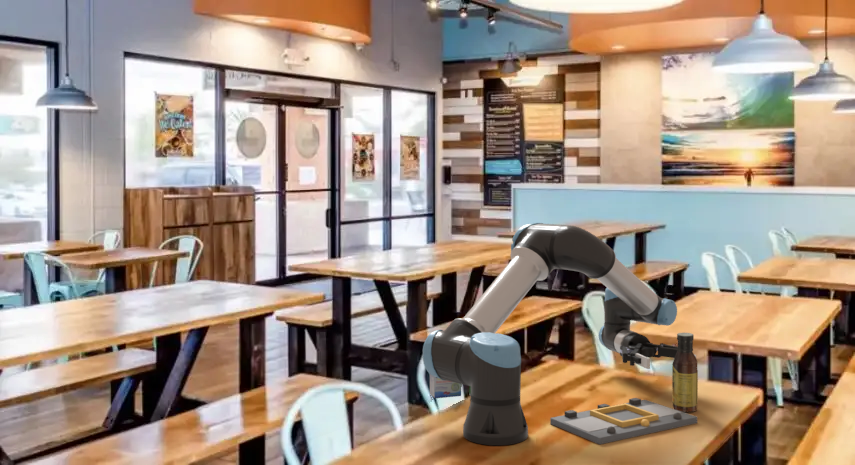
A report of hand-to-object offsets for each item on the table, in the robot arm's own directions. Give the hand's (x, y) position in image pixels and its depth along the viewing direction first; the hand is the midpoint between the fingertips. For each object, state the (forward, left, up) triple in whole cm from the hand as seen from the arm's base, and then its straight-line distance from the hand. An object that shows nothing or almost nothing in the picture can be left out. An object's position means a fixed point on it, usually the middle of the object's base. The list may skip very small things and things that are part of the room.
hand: (672, 362), depth 233 cm
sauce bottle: (-2, -7, -11) cm, 13 cm away
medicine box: (-47, +37, -11) cm, 61 cm away
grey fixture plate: (-23, -7, -11) cm, 27 cm away
